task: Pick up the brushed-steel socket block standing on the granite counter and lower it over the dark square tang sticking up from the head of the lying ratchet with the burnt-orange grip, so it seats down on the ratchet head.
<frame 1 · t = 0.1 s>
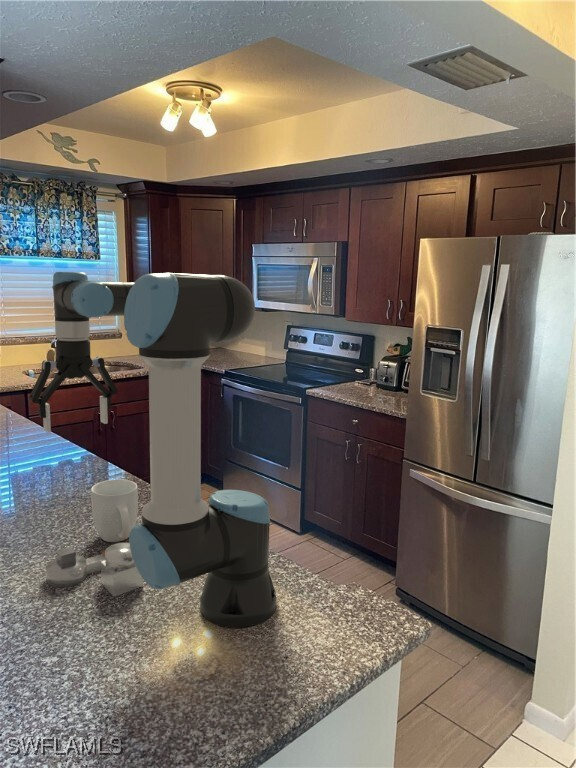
hand: (76, 426, 135), 28 cm above the counter, fingers open, 13 cm apart
socket: (122, 585, 118), on the counter
ratchet: (67, 577, 120), on the counter
mug: (117, 539, 138), on the counter
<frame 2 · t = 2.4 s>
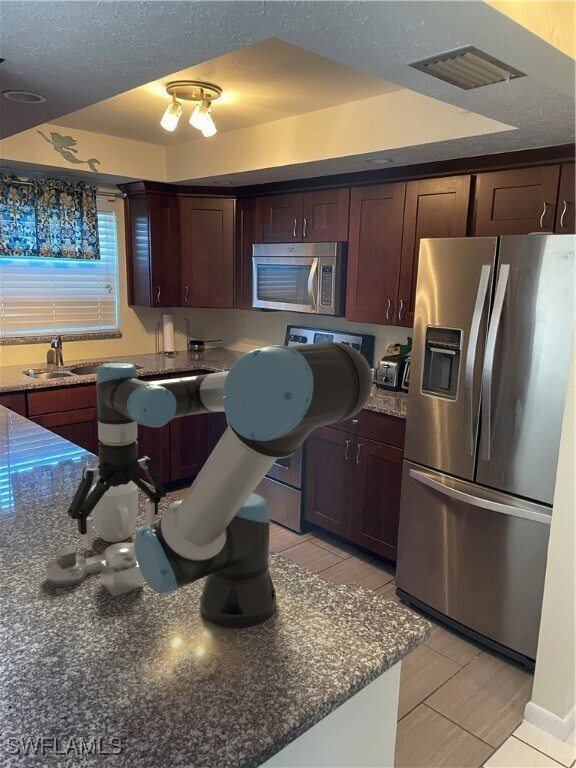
hand: (120, 538, 116), 10 cm above the counter, fingers open, 13 cm apart
nothing on the counter moved.
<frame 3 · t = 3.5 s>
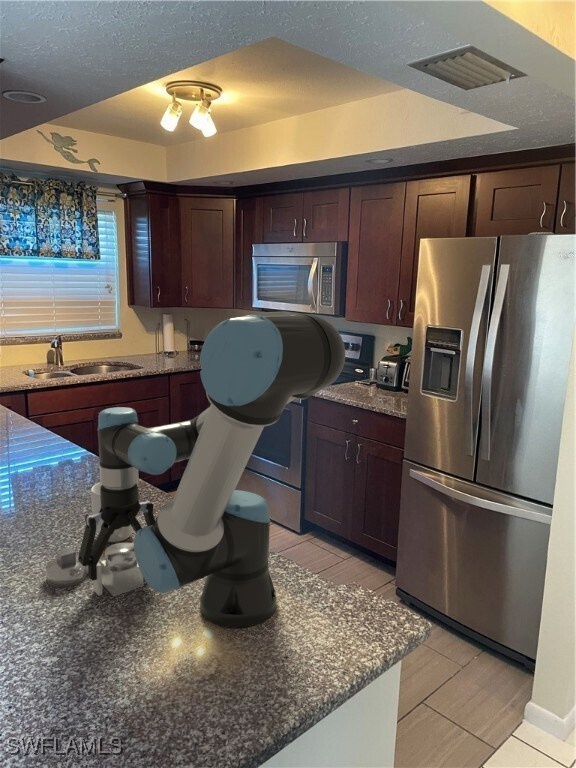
hand: (122, 583, 118), 0 cm above the counter, fingers open, 10 cm apart
nothing on the counter moved.
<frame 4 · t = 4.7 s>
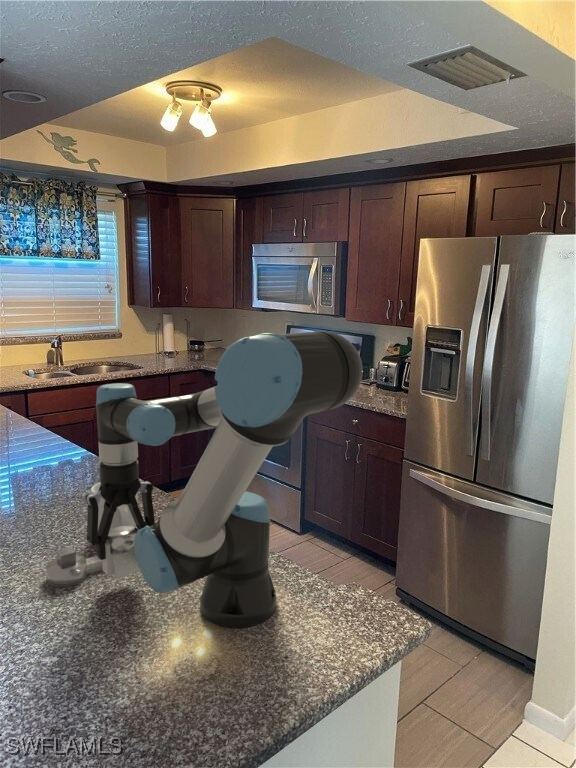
hand: (123, 566, 116), 4 cm above the counter, fingers closed on socket, 6 cm apart
socket: (123, 568, 116), point 4 cm above the counter, touching gripper
everything else where it was.
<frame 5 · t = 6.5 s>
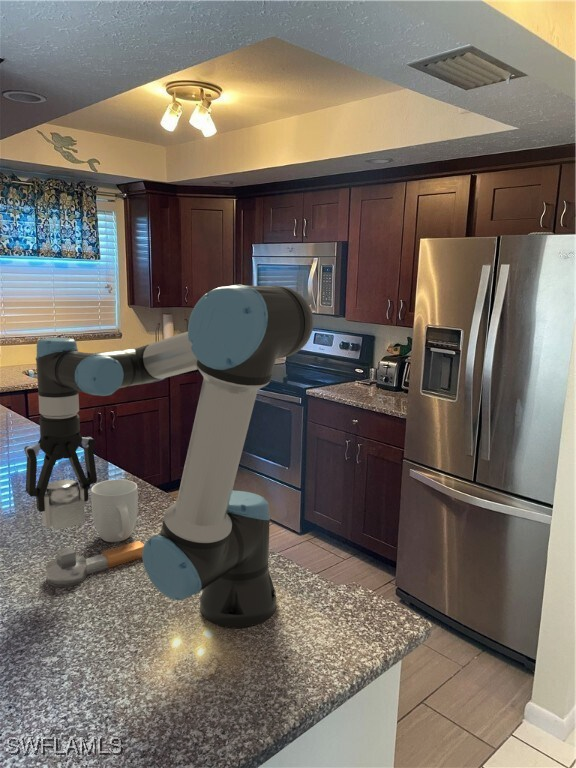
hand: (63, 520, 118), 13 cm above the counter, fingers closed on socket, 6 cm apart
socket: (63, 521, 118), point 13 cm above the counter, touching gripper
everything else where it was.
when the fingers open (4 cm above the counter, at t = 8.3 s): socket stays where it is, resting on ratchet.
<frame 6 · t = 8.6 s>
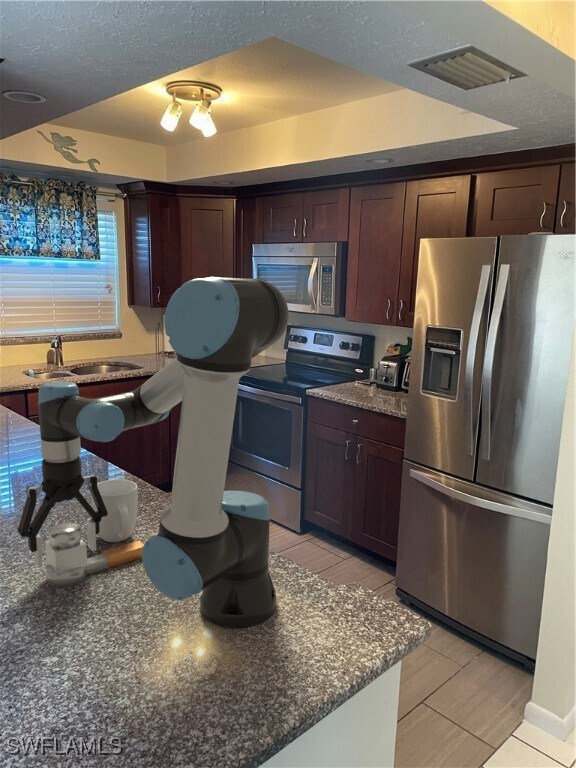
hand: (66, 556, 119), 5 cm above the counter, fingers open, 10 cm apart
socket: (66, 564, 119), point 3 cm above the counter, touching ratchet
everything else where it was.
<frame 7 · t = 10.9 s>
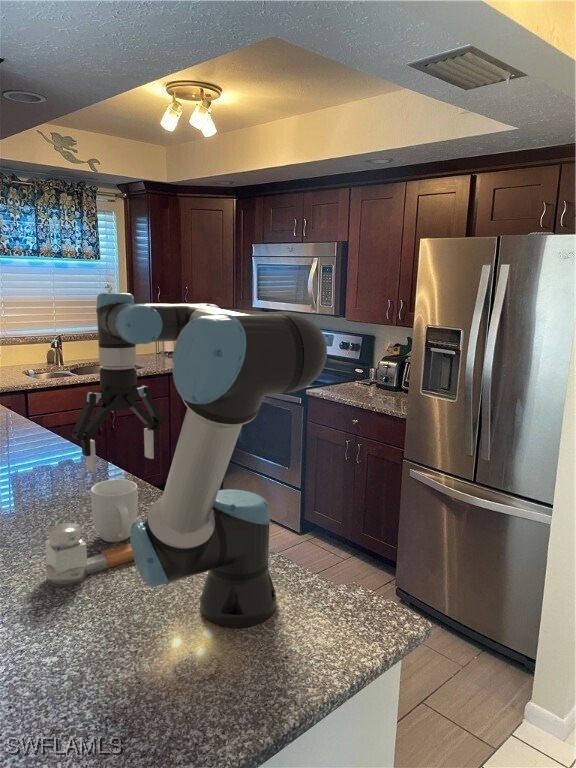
hand: (121, 463, 121), 24 cm above the counter, fingers open, 13 cm apart
nothing on the counter moved.
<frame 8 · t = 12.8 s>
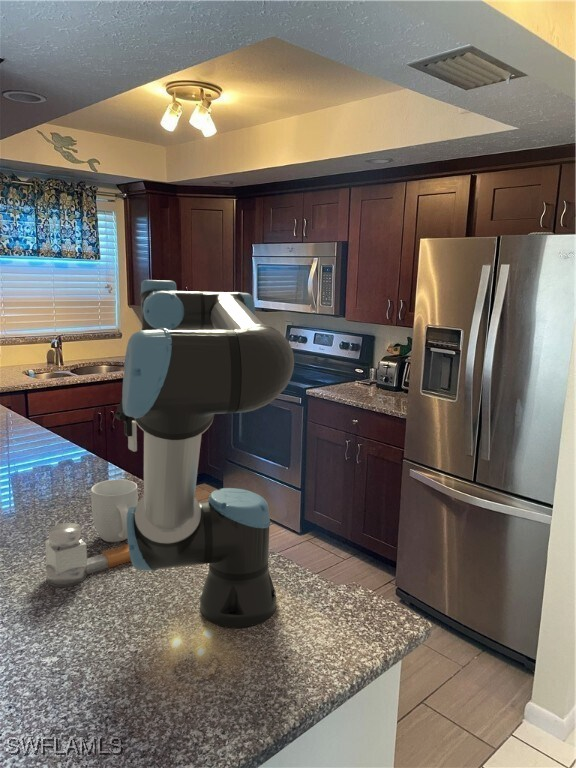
hand: (160, 444, 126), 27 cm above the counter, fingers open, 13 cm apart
nothing on the counter moved.
at the end: socket 0.0 cm from the ratchet (horizontally); socket point 3.0 cm above the counter; socket tilted 0° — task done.
